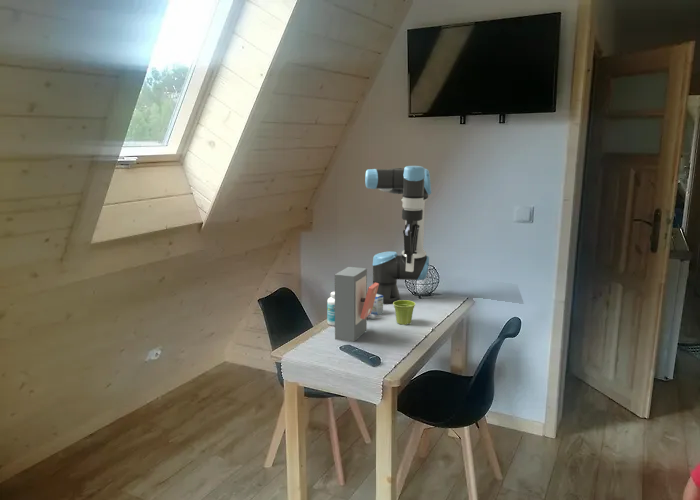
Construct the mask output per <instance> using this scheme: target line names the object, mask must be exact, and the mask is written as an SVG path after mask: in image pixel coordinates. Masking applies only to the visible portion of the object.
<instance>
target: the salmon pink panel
mask: <svg viewBox="0 0 700 500" xmlns="http://www.w3.org/2000/svg"><path fill="white" fill-rule="evenodd" d="M378 286H379V284H378V283H376V282H375V283H374V284H373V283H372V284H371V285H369V287H367V295H366V298H365V302H364V306H363V309H362V313H361V317H360V318H362V319H365V318H366V317H367V316H370V315H372V314H371V311H372V308H373V304H374V301H375V297H376V293H377V290H378ZM367 318H368V317H367Z"/></svg>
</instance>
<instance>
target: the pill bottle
mask: <svg viewBox="0 0 700 500" xmlns="http://www.w3.org/2000/svg"><path fill="white" fill-rule="evenodd" d="M326 303H327V305H326V309H327V313H326V314H327V315H326V316H327V317H326V319H327V320H326V321H327V324H328V325H330V326H332V327H335V291H332V292H330V297H329V298H327V302H326Z"/></svg>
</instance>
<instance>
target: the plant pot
mask: <svg viewBox="0 0 700 500" xmlns="http://www.w3.org/2000/svg"><path fill="white" fill-rule="evenodd" d="M392 305H393V308H394V312H395V319H396V323H397V324H398V325H402V326H403V325H404V326H407V325H410V324H412V318H413V312H414V308H415V307H416V302H415V301H412V300H407V299H405V300H404V299H400V300H398V301H395V302H393V303H392Z"/></svg>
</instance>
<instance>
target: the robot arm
mask: <svg viewBox="0 0 700 500" xmlns="http://www.w3.org/2000/svg"><path fill="white" fill-rule="evenodd" d="M364 182H365V187H366V189H369V190H379V191H381V192H385V193H389V194H393V195H396V194H397V195H402V199H401V201H400V202H402V205H401V206H402V209H401V219H402V220H404V221H405V222H404V223H405V224H404V225H405V226H404V229H403V230H402V235H403V246H404V247H403V250H402V251H401V255H400V254H398V252H396V251H383V252H379V253H376V254H374V256H373V258H372V285H373V284H374V283H375V282H376V283H378V284H379V286H378V290H377V293H376V294H380V295H383V305H393V302H395V301H398V300H401V294H400V290H399V287H398V285H397V284H398V283H397V282H398V280H400V281H424V280H426V279H427V277H428V272H429V266H430V256H429V255H427V252H426V251H425V249H424V237H425V234H424V233H425V204H426V203H425V202H426V201H427V200H428V199H429V195H432V182H431V175H430V170H429V169H428V168H425V167H424V166H421V165H406V166H405V167H402V168H401V167H394V168H387V169H386V168H384V169H383V168H372V169H371V168H369V169H366V171H365V181H364Z"/></svg>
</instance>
